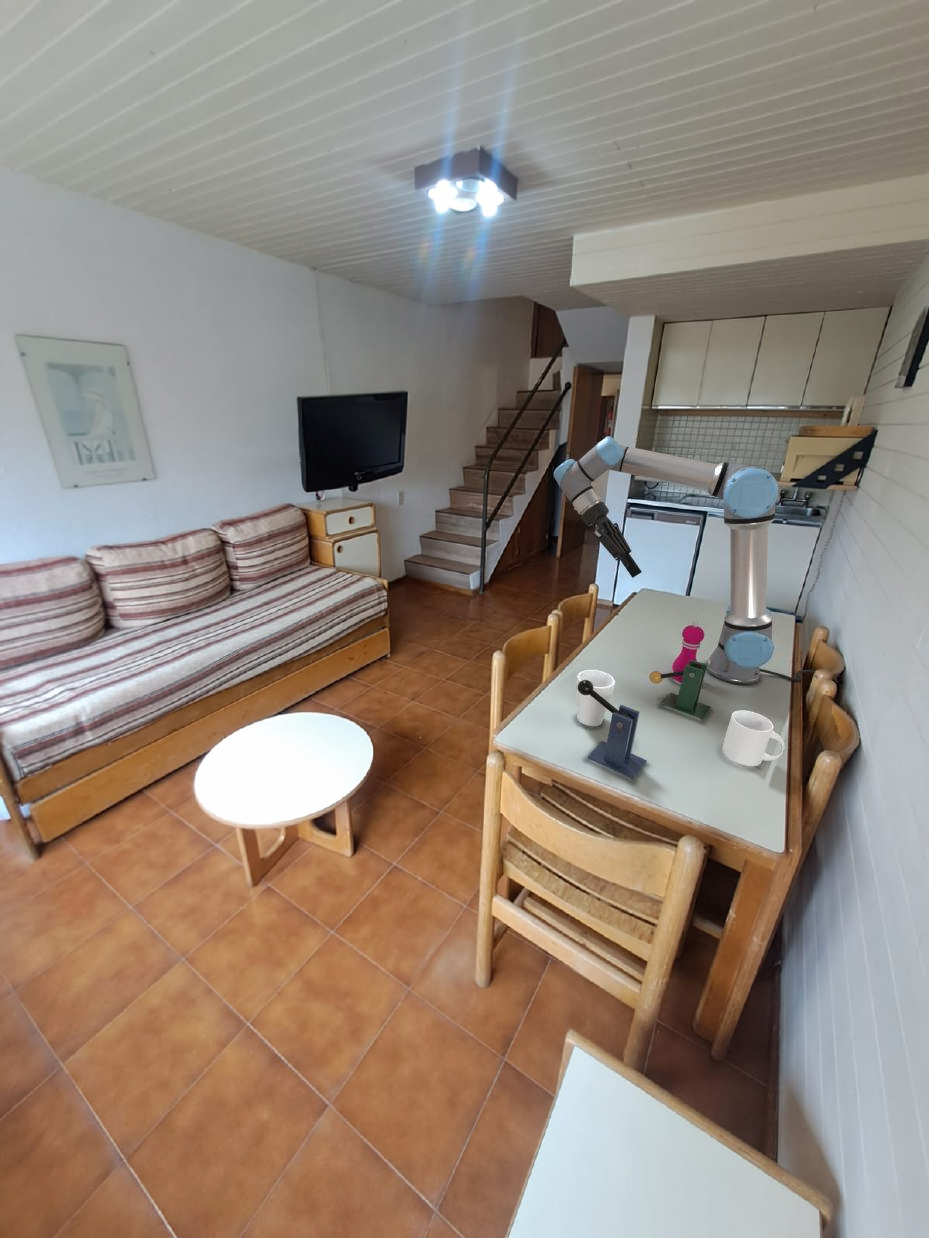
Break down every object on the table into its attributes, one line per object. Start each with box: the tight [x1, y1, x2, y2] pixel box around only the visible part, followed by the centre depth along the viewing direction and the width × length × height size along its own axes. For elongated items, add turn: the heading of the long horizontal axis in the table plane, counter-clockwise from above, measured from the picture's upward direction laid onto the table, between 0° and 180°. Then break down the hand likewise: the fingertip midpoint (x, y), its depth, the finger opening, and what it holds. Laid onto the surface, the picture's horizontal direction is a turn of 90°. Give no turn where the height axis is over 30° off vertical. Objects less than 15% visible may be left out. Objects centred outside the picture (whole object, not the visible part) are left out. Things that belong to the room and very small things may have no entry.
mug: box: [721, 709, 786, 767], centre depth 115 cm, size 9×12×11 cm
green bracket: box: [661, 660, 712, 720], centre depth 134 cm, size 11×8×14 cm
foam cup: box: [575, 669, 616, 727], centre depth 127 cm, size 10×9×13 cm
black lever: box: [578, 680, 634, 720], centre depth 112 cm, size 14×4×4 cm, turn 51°
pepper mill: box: [671, 620, 705, 683], centre depth 148 cm, size 7×7×20 cm
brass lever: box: [648, 665, 701, 685], centre depth 136 cm, size 14×4×4 cm, turn 51°
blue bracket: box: [587, 704, 647, 780], centre depth 112 cm, size 11×8×14 cm
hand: (637, 575), depth 141 cm, fingers closed
